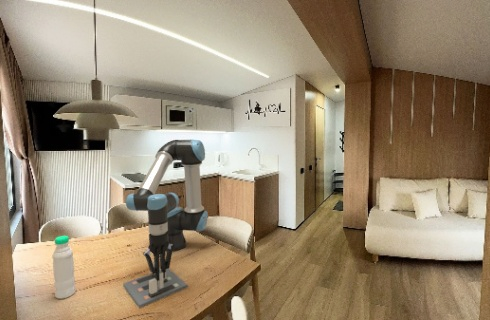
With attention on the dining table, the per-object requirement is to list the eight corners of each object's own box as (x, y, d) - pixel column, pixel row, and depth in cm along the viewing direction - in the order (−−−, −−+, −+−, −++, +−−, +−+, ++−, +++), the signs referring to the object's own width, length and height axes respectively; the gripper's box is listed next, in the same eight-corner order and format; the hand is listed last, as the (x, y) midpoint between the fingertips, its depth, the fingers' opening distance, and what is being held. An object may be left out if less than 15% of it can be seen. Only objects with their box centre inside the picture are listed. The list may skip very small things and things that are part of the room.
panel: (123, 286, 115) (123, 283, 115) (167, 269, 129) (167, 267, 129) (139, 308, 100) (139, 305, 100) (187, 287, 114) (187, 284, 114)
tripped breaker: (148, 294, 107) (148, 280, 106) (155, 291, 109) (155, 277, 108) (150, 296, 105) (150, 283, 104) (158, 293, 107) (157, 280, 106)
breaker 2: (158, 280, 117) (157, 268, 116) (164, 278, 119) (164, 265, 118) (160, 282, 115) (160, 270, 114) (167, 280, 117) (166, 267, 116)
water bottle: (72, 287, 114) (68, 232, 112) (78, 293, 110) (74, 236, 107) (53, 295, 109) (48, 237, 106) (58, 301, 104) (54, 242, 102)
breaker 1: (152, 274, 122) (151, 262, 121) (158, 272, 124) (157, 260, 123) (154, 276, 120) (153, 264, 119) (160, 274, 122) (160, 262, 121)
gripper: (146, 239, 99) (148, 297, 101) (177, 230, 108) (179, 284, 110) (139, 233, 105) (141, 288, 107) (169, 226, 113) (170, 277, 116)
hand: (160, 286), depth 109 cm, fingers closed
